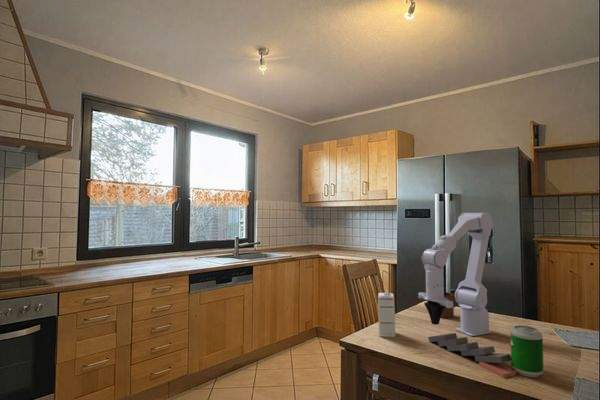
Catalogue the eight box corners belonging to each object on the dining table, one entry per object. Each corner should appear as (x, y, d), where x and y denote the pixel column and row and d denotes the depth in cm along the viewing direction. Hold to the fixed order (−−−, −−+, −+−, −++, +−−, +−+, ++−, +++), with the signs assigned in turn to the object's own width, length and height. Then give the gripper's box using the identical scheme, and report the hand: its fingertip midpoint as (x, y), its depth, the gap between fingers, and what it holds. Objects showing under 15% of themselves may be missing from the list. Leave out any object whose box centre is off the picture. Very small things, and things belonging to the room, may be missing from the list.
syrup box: (395, 337, 126) (395, 296, 126) (378, 336, 127) (378, 295, 127) (394, 332, 131) (394, 292, 132) (378, 331, 133) (377, 292, 133)
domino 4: (470, 348, 112) (493, 346, 106) (472, 353, 112) (495, 352, 105) (460, 350, 110) (483, 348, 104) (462, 355, 109) (485, 354, 103)
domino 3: (458, 343, 116) (477, 342, 110) (459, 348, 116) (479, 347, 109) (446, 345, 114) (465, 344, 108) (448, 351, 114) (466, 350, 107)
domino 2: (448, 339, 120) (466, 337, 113) (450, 344, 119) (468, 342, 113) (437, 341, 118) (454, 339, 111) (438, 346, 117) (456, 344, 111)
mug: (458, 313, 154) (458, 291, 154) (467, 318, 147) (467, 295, 147) (431, 313, 154) (431, 291, 154) (439, 319, 146) (438, 296, 146)
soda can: (550, 376, 96) (549, 331, 97) (530, 380, 94) (528, 335, 94) (524, 364, 103) (523, 323, 104) (505, 368, 101) (504, 326, 101)
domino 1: (439, 335, 124) (455, 332, 117) (440, 339, 123) (457, 338, 117) (428, 337, 122) (444, 335, 115) (429, 342, 122) (445, 340, 115)
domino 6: (491, 359, 105) (516, 371, 97) (491, 365, 105) (516, 377, 97) (478, 362, 103) (503, 374, 96) (478, 367, 103) (503, 380, 96)
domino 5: (484, 352, 108) (510, 354, 102) (485, 358, 108) (511, 360, 101) (474, 355, 105) (500, 356, 99) (475, 361, 105) (502, 363, 99)
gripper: (411, 281, 128) (412, 319, 128) (440, 289, 115) (441, 332, 114) (427, 279, 131) (427, 316, 130) (457, 287, 117) (458, 329, 117)
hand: (435, 323), depth 122 cm, fingers closed
